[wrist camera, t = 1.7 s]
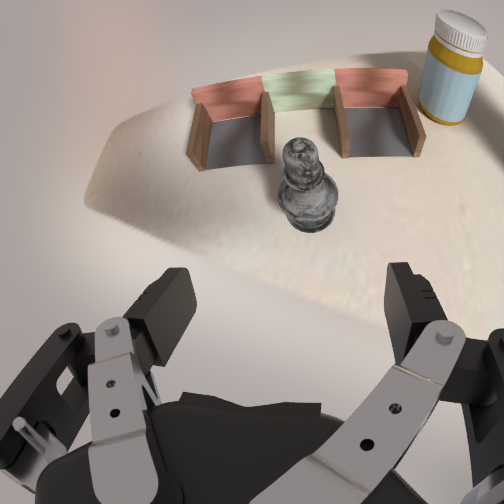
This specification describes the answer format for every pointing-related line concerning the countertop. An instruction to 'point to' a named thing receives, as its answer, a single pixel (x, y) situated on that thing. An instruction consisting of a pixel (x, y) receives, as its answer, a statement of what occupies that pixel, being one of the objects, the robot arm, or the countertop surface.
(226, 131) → the bay rack
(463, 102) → the bottle
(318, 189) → the grey chess piece
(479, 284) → the countertop surface
